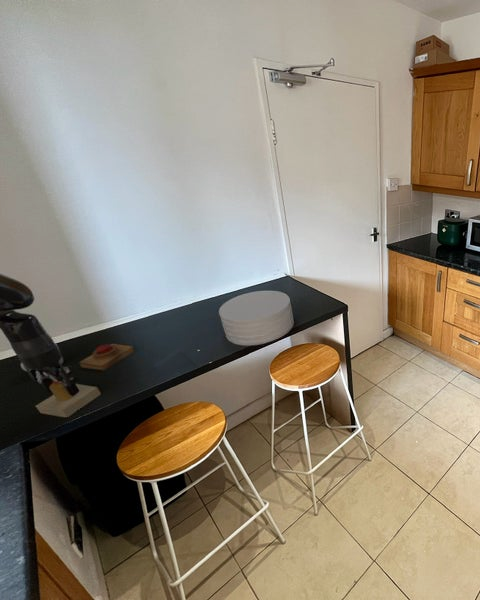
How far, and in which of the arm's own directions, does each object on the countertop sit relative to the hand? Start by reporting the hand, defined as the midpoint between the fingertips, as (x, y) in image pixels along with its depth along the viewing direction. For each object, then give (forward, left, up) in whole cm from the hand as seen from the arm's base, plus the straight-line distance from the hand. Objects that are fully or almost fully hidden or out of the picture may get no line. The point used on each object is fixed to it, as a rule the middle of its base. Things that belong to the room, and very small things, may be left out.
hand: (63, 392), depth 96 cm
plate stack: (+52, -33, -5) cm, 62 cm away
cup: (+12, +27, -5) cm, 30 cm away
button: (+21, +11, -1) cm, 24 cm away
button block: (+21, +11, -5) cm, 24 cm away
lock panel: (0, 0, -5) cm, 5 cm away
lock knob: (0, 0, -2) cm, 2 cm away
